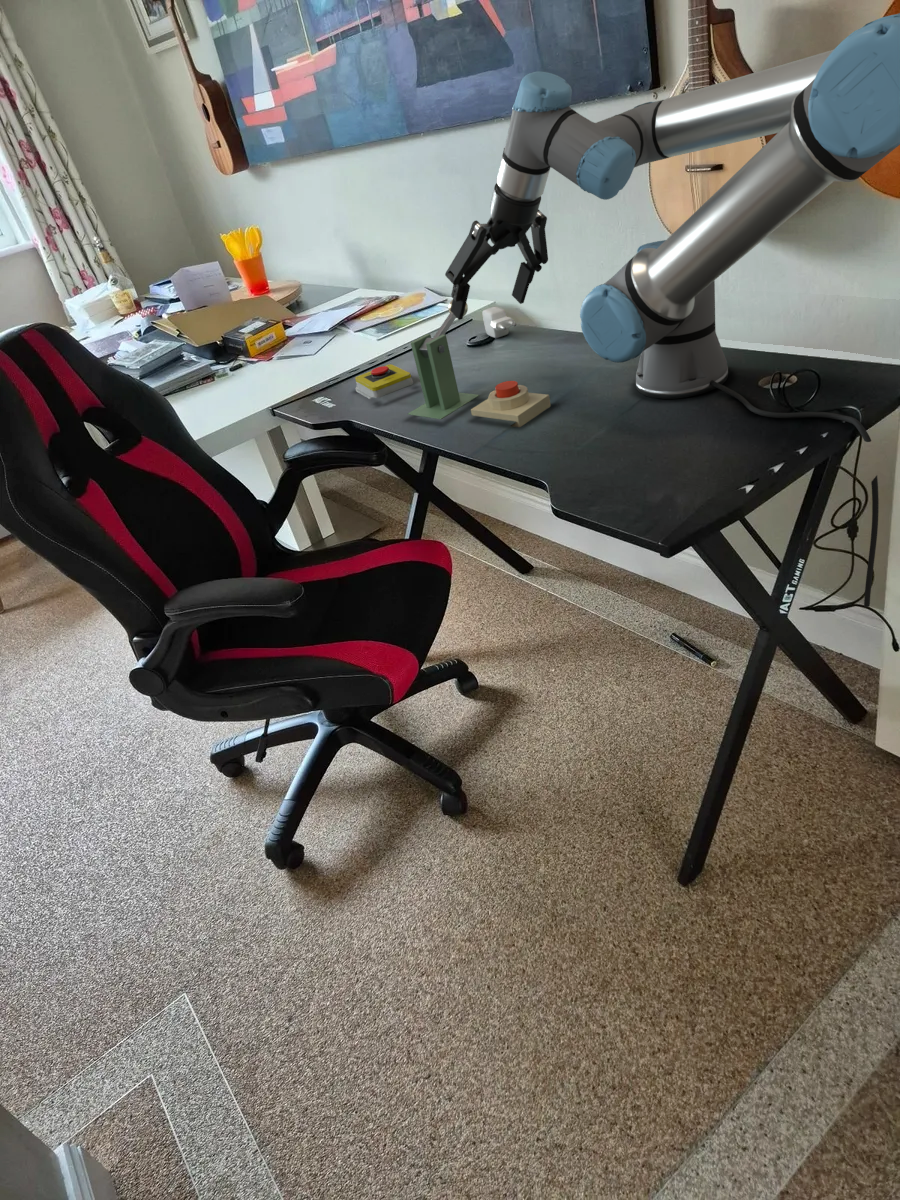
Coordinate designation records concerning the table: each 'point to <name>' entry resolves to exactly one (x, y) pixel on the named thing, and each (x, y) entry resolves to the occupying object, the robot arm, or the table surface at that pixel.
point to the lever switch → (441, 329)
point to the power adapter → (497, 322)
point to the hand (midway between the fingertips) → (487, 306)
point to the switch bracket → (437, 379)
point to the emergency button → (382, 381)
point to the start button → (507, 389)
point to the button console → (513, 406)
